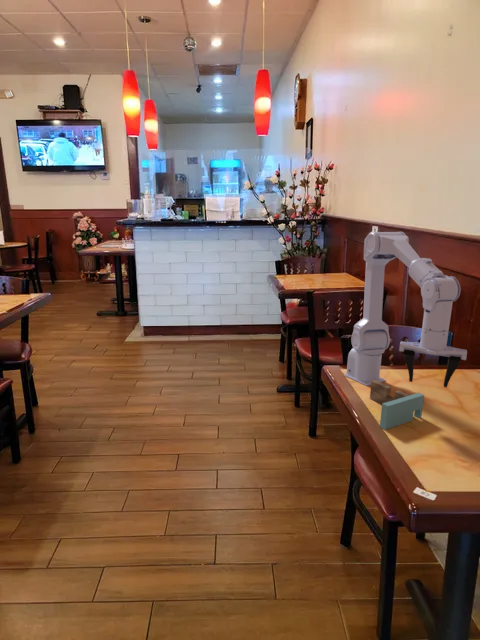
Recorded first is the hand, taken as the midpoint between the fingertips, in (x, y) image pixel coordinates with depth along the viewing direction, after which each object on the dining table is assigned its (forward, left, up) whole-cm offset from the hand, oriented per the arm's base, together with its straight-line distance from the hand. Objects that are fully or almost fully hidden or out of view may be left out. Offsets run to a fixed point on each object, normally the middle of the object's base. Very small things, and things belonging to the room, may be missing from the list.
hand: (427, 383), depth 109 cm
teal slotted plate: (-2, -6, -10) cm, 11 cm away
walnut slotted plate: (-10, -1, -10) cm, 14 cm away
